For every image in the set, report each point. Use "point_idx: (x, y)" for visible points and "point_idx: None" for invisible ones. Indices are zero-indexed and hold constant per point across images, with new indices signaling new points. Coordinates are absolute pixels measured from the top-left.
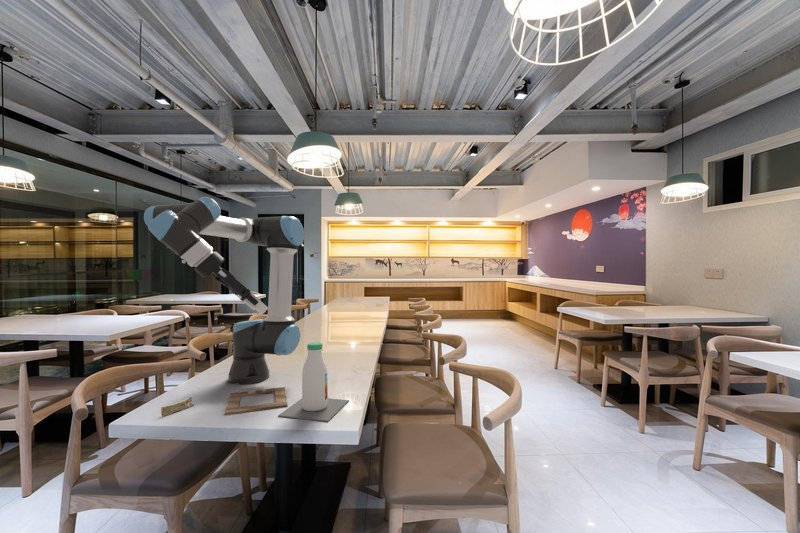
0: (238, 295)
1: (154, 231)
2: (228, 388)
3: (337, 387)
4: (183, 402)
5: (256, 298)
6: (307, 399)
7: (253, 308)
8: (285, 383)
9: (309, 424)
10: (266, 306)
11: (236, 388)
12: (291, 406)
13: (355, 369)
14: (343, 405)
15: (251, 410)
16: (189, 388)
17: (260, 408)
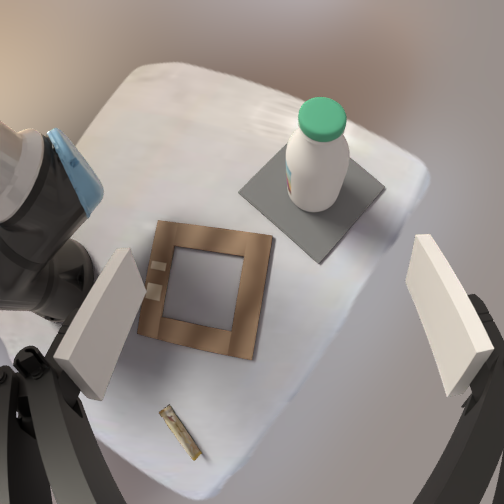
0: (93, 394)
1: None
2: None
3: (217, 123)
4: (174, 425)
5: (468, 307)
6: (333, 199)
7: (141, 290)
8: (129, 214)
9: (380, 218)
10: (435, 245)
11: None
12: (284, 229)
13: (136, 77)
14: None
15: (260, 309)
16: None
17: (263, 290)
